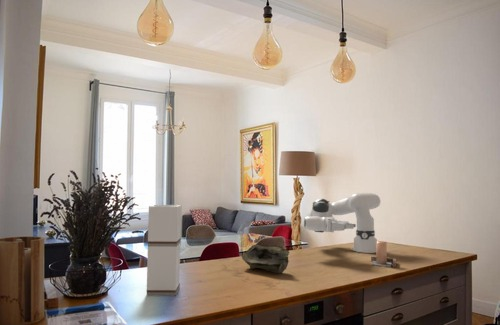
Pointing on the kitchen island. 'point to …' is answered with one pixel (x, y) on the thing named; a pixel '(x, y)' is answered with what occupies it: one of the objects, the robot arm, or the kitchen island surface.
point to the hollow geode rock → (267, 258)
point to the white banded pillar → (164, 250)
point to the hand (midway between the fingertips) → (354, 226)
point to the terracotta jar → (381, 252)
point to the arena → (389, 261)
